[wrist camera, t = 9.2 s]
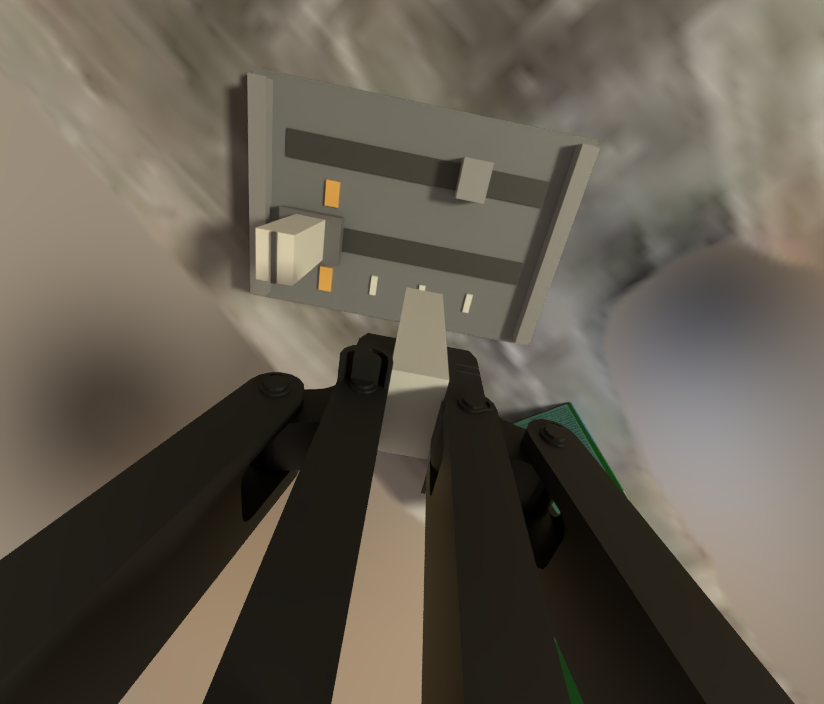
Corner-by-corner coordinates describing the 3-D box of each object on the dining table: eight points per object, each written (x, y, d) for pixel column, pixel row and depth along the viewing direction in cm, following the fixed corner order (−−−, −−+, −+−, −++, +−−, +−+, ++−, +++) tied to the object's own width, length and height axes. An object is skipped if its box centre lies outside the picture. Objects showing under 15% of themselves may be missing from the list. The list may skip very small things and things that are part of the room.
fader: (284, 205, 28) (232, 218, 21) (344, 217, 28) (314, 234, 21) (282, 252, 30) (234, 280, 22) (340, 263, 30) (310, 295, 22)
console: (261, 71, 26) (238, 58, 23) (590, 142, 27) (611, 138, 24) (261, 289, 33) (243, 302, 30) (522, 338, 34) (531, 355, 31)
